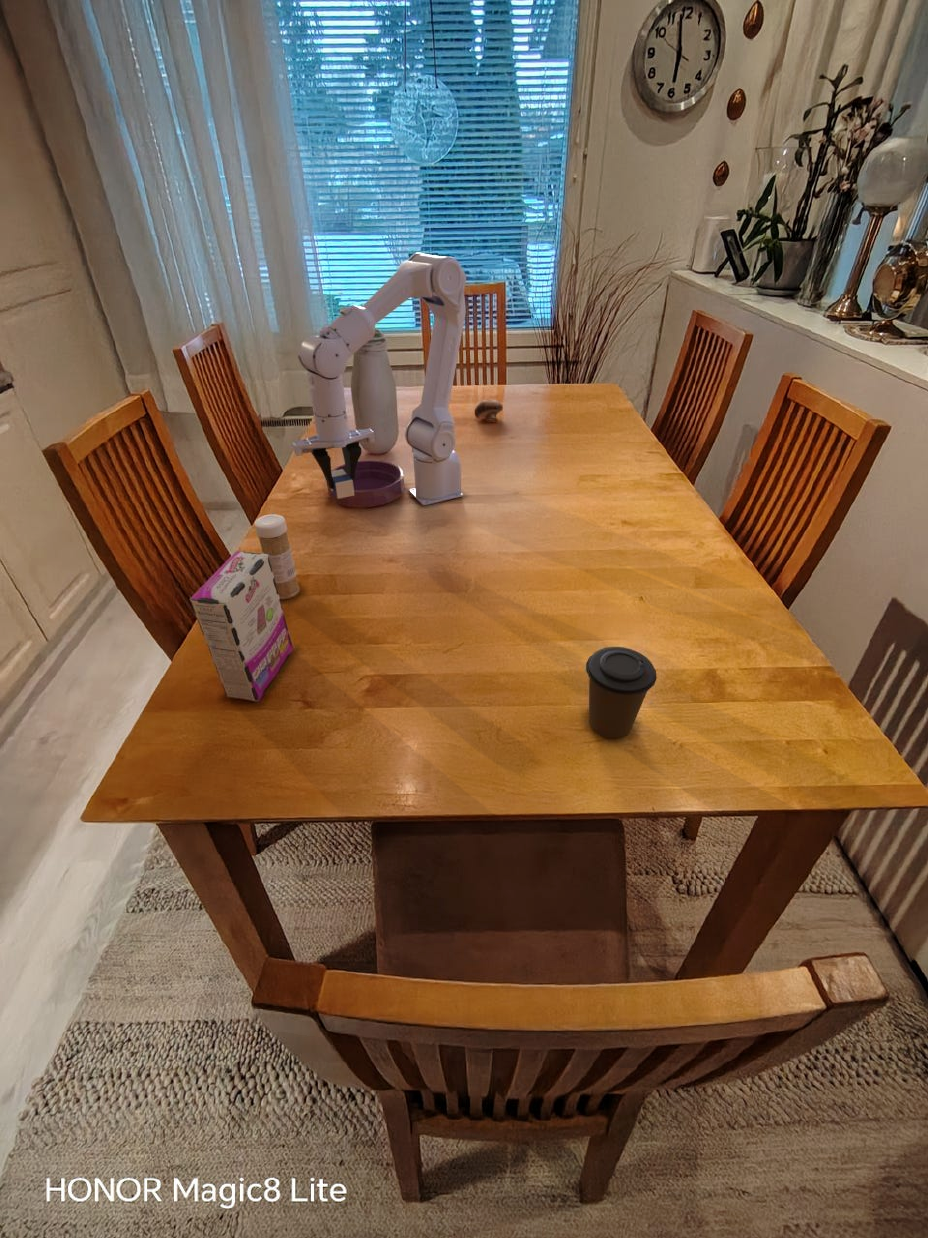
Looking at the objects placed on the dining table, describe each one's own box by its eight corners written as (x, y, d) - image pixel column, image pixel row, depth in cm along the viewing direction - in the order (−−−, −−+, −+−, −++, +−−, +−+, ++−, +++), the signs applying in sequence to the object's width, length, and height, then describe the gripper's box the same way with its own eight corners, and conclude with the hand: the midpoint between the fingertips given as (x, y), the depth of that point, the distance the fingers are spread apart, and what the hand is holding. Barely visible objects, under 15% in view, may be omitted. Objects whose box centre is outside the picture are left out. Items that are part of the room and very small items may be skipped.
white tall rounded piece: (383, 462, 141) (371, 335, 124) (351, 453, 145) (335, 330, 129) (408, 448, 148) (399, 326, 131) (376, 441, 152) (364, 322, 135)
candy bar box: (262, 645, 87) (235, 549, 77) (294, 650, 86) (271, 552, 76) (223, 699, 78) (186, 597, 68) (258, 704, 77) (226, 602, 67)
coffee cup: (657, 728, 73) (673, 668, 67) (611, 758, 69) (624, 697, 63) (608, 690, 78) (620, 632, 72) (564, 717, 75) (572, 657, 69)
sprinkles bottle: (286, 582, 100) (270, 510, 92) (306, 590, 98) (291, 517, 90) (266, 595, 97) (247, 522, 89) (285, 603, 95) (268, 529, 87)
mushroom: (504, 414, 158) (496, 392, 157) (476, 425, 160) (469, 403, 159) (508, 420, 166) (501, 398, 165) (482, 430, 168) (474, 409, 167)
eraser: (328, 487, 113) (326, 471, 112) (345, 483, 115) (342, 468, 113) (337, 499, 109) (335, 483, 107) (354, 495, 110) (352, 480, 108)
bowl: (388, 472, 136) (386, 455, 134) (416, 499, 125) (415, 481, 123) (319, 486, 131) (317, 469, 128) (342, 516, 119) (340, 497, 117)
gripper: (294, 425, 97) (308, 500, 106) (377, 412, 103) (384, 485, 111) (284, 413, 102) (298, 486, 111) (363, 401, 108) (371, 471, 116)
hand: (340, 484), depth 111 cm, fingers closed on eraser, 3 cm apart
